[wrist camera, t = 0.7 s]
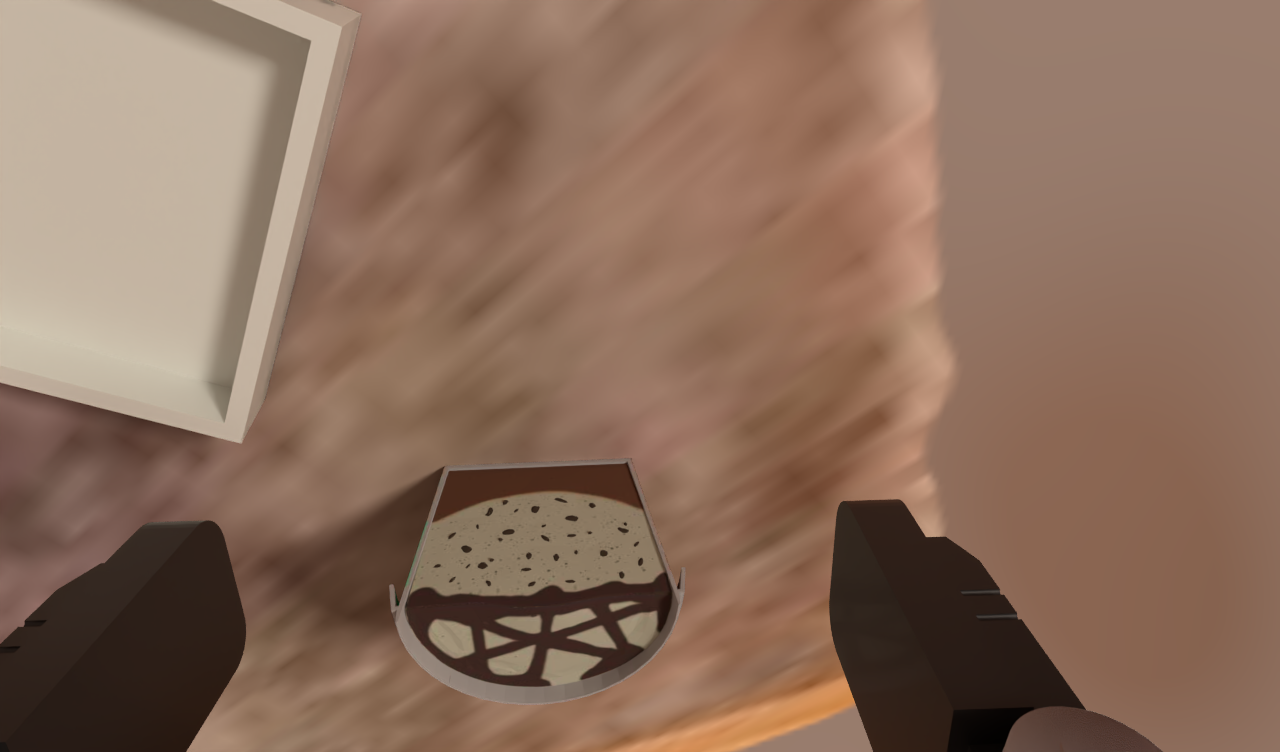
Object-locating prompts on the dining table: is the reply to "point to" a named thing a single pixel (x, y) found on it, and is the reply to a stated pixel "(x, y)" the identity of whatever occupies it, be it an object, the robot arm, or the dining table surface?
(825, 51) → the dining table surface
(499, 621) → the food container
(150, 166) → the tray
